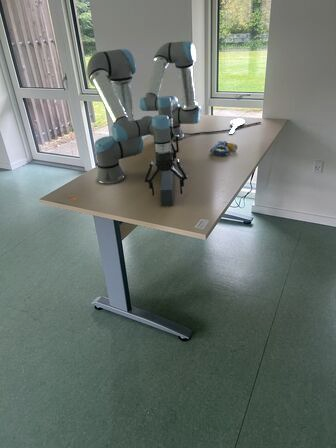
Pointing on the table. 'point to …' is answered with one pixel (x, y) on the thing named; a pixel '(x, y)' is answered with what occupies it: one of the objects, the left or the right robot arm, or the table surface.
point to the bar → (167, 187)
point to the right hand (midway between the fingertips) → (169, 163)
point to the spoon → (236, 124)
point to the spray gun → (223, 148)
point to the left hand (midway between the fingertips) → (167, 193)
